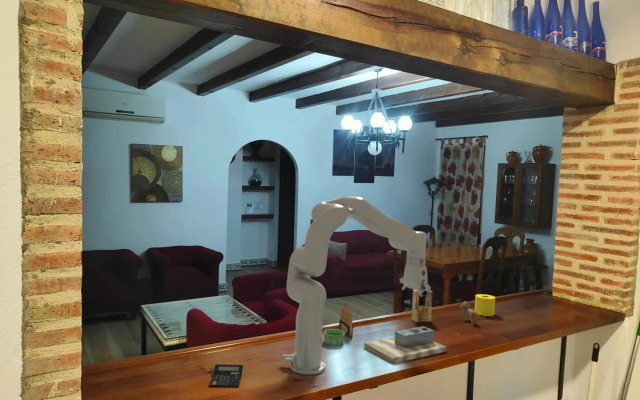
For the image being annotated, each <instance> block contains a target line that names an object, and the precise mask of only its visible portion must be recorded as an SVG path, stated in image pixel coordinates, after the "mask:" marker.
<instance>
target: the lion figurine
mask: <svg viewBox="0 0 640 400" xmlns="http://www.w3.org/2000/svg"><path fill="white" fill-rule="evenodd" d="M459 307H460V310H462V311H463V313H464V320H463V321H465V320H466V321H467V322H468V321H470V322H471V323H470V326H474V324H475V325H476V326H477V327H478V326H479V324H478V323H477V317H478V315H477V314H476V311H475V309H473V307H472V305H471V303H470V302H468V301H463V302H462V303H461V304H460V305H459Z"/></svg>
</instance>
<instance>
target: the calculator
mask: <svg viewBox="0 0 640 400" xmlns="http://www.w3.org/2000/svg"><path fill="white" fill-rule="evenodd" d="M243 369H244V365H243V364H221V363H220V364H219V363H218V364H215V365H214V369H213V374H212V377H211V379H210V382H209V384H208V387H209V388H239V386H240V384H241V379H242V376H243Z"/></svg>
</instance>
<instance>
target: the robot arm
mask: <svg viewBox="0 0 640 400" xmlns="http://www.w3.org/2000/svg"><path fill="white" fill-rule="evenodd" d="M310 214H311V218H312V222H311V224H310V225H309V227H308V229H307V231H306V235H305V241H304V245H303V246H299V247H297V248H296V249H295V250H294V251H293V252H292V253H291V256H290V257H289V263H288V270H287V279H286V293H287V295H288V297H289V298H290V299H291V300H293V301H295V302H296V303H299V306H298V309H297V313H296V316H295V317H296V318H295V337H294V338H295V341H294V343H295V344H294V345H295V346H294V353H291V354H284V353H283V354H282V356H281V357H282V358H281V360H282V361H284V362H285V363H290V364H289V369H290V370H291V371H292V372H293V373H295V374H300V375H305V376H306V375H308V376H309V375H311V376H312V375H317V374H321V373H323V372H324V371H325V370H326V364H325V363H324V362H323V361H322V349H323V348H322V347H323V342H322V341H323V325H324V324H323V321H324V310H325V305H326V301H327V292H326V291H327V290H326V288H325V287H324V285H323V284H322V283H320V282H319V281H317V280H315V279H312V278H311V277H315V278H316V277H320V276H322V275H323V274H324V273H325V271H326V267H327V261H328V252H329V244H330V240H331V238H332V235H333V233H334V232H336V230H337V229H339V228H340V227H342V226H343V225H344V224H345V223H346V222H347V220H348V219H352V220H354V221H356V222H358V223H359V224H360V225H362V226H363V227H364V228H365V229H368V230H369V231H370V232H372V233H373V234H376V235H378V236H380V237H383V238H388V243H389V245H390V246H391V247H392V248H394V249H395V250H396V249H397V250H402V251H406V263H405V266H404V272H403V276H402V277H400V278H399V283H400V287H401V291H402V297H401V298H402V299H401V300H402V301H408V300H409V299H410V290H417V291H418V292H419V294H420V296H419V303H418V305H419V306H425V301H426V296H427V294H428V293H429V291H430V290H431V288H432V287H431V285H430V284H429V283H428V268H427V265H426V263H427V261H426V255H427V253H426V252H427V233H426V232H424V231H419V230H418V231H417V230H414V229H413V228H411V227H410V226H408V224H407V225H406V223H403V222H401V221H399V220H398V219H395V218H393V217H391V216H389V215H387V214H386V213H384V212H382V210H380V209H378V207H376V206H374V205H373V204H372V203H370V202H369V201H368V200H366V199H365V198H362V197H361V196H342V197H338V198H333V199H331V200H330V199H329V200H325V201H321V202H319V203H317V204H316V205H314V206H313V207H312V210H311V212H310ZM409 289H410V290H409ZM422 291H423V293H422Z"/></svg>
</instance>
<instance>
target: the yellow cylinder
mask: <svg viewBox="0 0 640 400" xmlns="http://www.w3.org/2000/svg"><path fill="white" fill-rule="evenodd" d="M474 296H475V297H474V298H475V299H474V311H476V313H477V314H479V315H478V316H480V315H484V316H483V317H486V316H492V315H494V316H495V312H496V311H495V307H496V296H494V295H491V294H483V293H482V294H481V293H480V294H479V293H478V294H475V295H474ZM492 317H493V316H492Z"/></svg>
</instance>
